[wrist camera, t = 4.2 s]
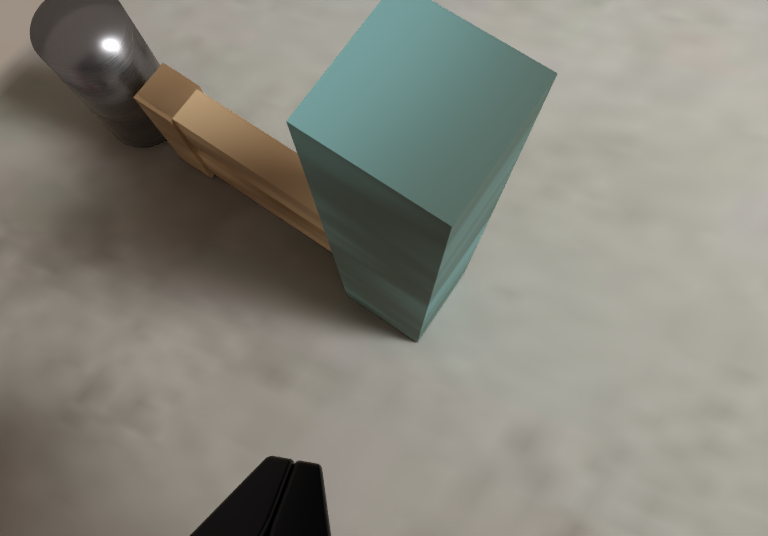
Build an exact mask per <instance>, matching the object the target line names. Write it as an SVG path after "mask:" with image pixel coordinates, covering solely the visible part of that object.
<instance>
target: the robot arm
mask: <svg viewBox="0 0 768 536" xmlns="http://www.w3.org/2000/svg"><path fill="white" fill-rule="evenodd" d="M190 536H331V532H330V524H329V517H328V509H327V502H326V494H325V487H324V480H323V472H322V467H321V466H320V465H319V464H316V463H311V462H305V461H297V462H296V463H294V461H293V460H291V459H288V458H282V457H276V456H269V457H267V458H266V459H265V460H264V461H263V462H262V463H261V464H260V465H259V466H258V467H257V468H256V469H255V470H254V471H253V472H252V473H251V474H250V475H249V476H248V477H247V478H246V479H245V480H244V481H243V482H242V483H241V484H240V485H239V486H238V487H237V488H236V489H235V490H234V491H233V492H232V493H231V494H230V495H229V496H228V497H227V498H226V499H225V500H224V501H223V502H222V503H221V504H220V505H219V506H218V507H217V508H216V509H215V511H214V512H213V513H212V514H211V515H210V516H209V517H208V518H207V519H206V520H205V521H204V522H203V523H202V524H201V525H200V526H199V527H198V528H197V529H196V530H195V531H194V532H193V533H192V534H191V535H190Z"/></svg>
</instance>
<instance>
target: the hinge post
mask: <svg viewBox="0 0 768 536" xmlns="http://www.w3.org/2000/svg"><path fill="white" fill-rule="evenodd" d="M30 39H31V43H32V45H33V48H34V50H35V51H36V53H37V54H38V55H39V56H40V57H41V58H42V59H43V60H44V61H45V62H46V63H47V65H48V66H49V67H50V68H51V69H52V70H53V71H54V72H55V73H56V74H57V75H58V76H59V77H60V78H61V79H62V80H63V81H64V82H65V83H66V84H67V86H68V87H69V88H70V89H71V90H72V91H73V92H74V93H75V94H76V95H77V96H78V97H79V98H80V99H81V100H82V101H83V102H84V103H85V104H86V105H87V106H88V108H89V109H90V110H91V111H92V112H93V113H94V114H95V115H96V116H97V117H98V118H99V119H100V120H101V121H102V122H103V123H104V124H105V125H106V126H107V127H108V129H109V130H110V131H111V132H112V133H113V134H114V135H115V136H116V137H117V138H118V139H119V140H121V141H122V142H124V143H126V144H128V145H131V146H135V147H149V146H154V145H157V144H159V143H161V142H163V141H165V140H166V138H165V137H164V136H163V135H162V133H161V132H160V131H159V130H158V128H157V127H156V126H155V124H154V123H153V122H152V121H151V119H150V118H149V117H148V116H147V114H146V113H145V112H144V111H143V109H142V108H141V107H140V105H139V104H138V103H137V102H136V100H135V99H134V98H133V97H134V96H135V95H136V94H137V93H138V91H139V90H140V89H141V88H142V87H143V86H144V84H145V83H146V82H147V81H148V80H149V79H150V77H151V76H152V75H153V74H154V73H155V72H156V70H157V69H158V68H159V67H160V64H159V62H158V61H157V59H156V58H155V56H154V55H153V53H152V52H151V50H150V48H149V47H148V45H147V44H146V42H145V41H144V39H143V38H142V36H141V34H140V33H139V31H138V30H137V28H136V27H135V25H134V24H133V22H132V20H131V19H130V17H129V16H128V14H127V13H126V11H125V10H124V8H123V6H122V5H121V3H120V2H119V1H118V0H45V1H44V2H43V3H42V4H41V5H40V6H39V8H38V9H37V11H36V12H35V14H34V16H33V18H32V22H31V26H30Z"/></svg>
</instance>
